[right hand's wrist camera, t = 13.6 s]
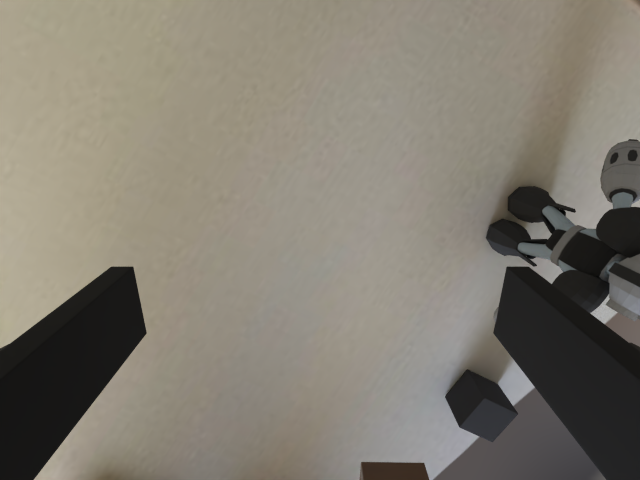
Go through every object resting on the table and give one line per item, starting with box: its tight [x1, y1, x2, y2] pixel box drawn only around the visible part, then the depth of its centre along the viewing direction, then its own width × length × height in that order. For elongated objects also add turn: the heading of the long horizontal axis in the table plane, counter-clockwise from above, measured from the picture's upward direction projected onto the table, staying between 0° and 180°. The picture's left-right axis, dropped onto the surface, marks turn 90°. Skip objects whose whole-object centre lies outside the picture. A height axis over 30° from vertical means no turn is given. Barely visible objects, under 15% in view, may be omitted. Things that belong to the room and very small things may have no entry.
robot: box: [486, 139, 640, 323], centre depth 30 cm, size 20×5×20 cm, turn 154°
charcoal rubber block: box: [445, 370, 518, 442], centre depth 44 cm, size 5×5×5 cm
